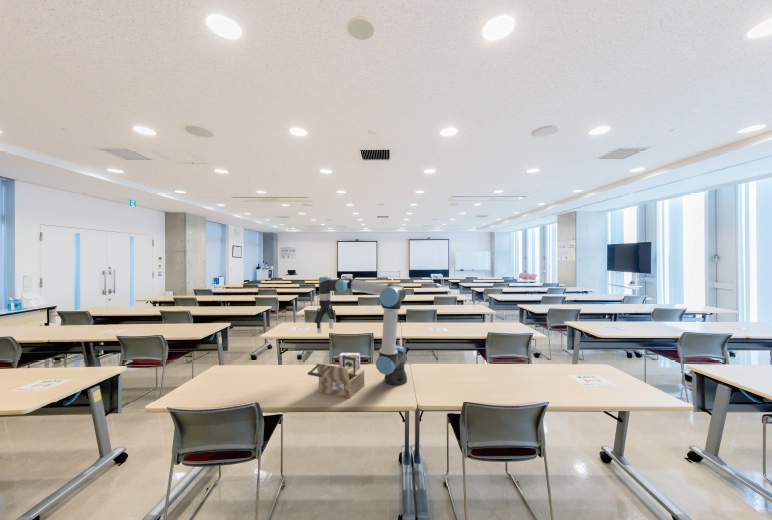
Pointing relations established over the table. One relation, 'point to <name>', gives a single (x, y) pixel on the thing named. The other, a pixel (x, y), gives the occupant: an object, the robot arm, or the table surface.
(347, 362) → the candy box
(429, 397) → the table surface
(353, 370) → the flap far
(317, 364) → the flap near
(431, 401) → the table surface
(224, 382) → the table surface
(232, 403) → the table surface
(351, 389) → the wooden box
